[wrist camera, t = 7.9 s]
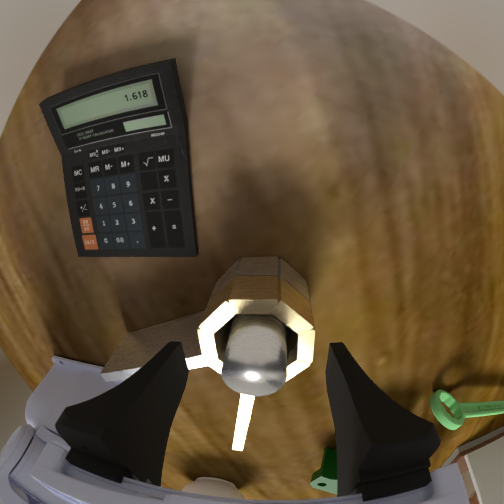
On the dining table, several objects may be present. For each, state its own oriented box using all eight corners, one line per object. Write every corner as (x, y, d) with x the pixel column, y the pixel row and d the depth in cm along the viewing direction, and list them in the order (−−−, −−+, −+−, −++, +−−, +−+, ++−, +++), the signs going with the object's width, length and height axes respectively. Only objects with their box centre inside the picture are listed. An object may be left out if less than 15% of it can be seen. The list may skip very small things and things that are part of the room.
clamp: (357, 395, 27) (376, 431, 19) (394, 410, 26) (420, 445, 18) (305, 464, 27) (306, 508, 19) (341, 476, 26) (350, 518, 18)
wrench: (529, 386, 22) (543, 408, 17) (521, 395, 23) (534, 418, 18) (427, 383, 21) (445, 424, 16) (416, 396, 22) (432, 437, 17)
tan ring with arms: (151, 395, 24) (134, 435, 19) (105, 259, 19) (65, 292, 14) (299, 405, 23) (300, 451, 18) (307, 255, 17) (317, 298, 13)
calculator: (84, 252, 19) (61, 268, 16) (66, 99, 15) (39, 97, 12) (199, 251, 18) (186, 271, 16) (187, 67, 14) (170, 54, 11)
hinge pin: (242, 317, 19) (226, 395, 13) (236, 279, 18) (215, 352, 12) (286, 315, 19) (287, 395, 13) (283, 276, 18) (285, 350, 11)
